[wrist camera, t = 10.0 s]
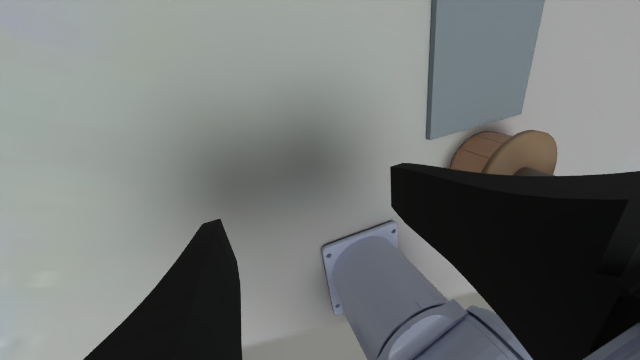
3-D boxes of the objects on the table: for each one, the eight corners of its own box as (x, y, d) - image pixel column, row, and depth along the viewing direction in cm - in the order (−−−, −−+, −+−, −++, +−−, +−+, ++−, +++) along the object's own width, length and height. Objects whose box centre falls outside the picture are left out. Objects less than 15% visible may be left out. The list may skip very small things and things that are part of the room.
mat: (516, 113, 25) (521, 113, 25) (426, 138, 23) (430, 140, 22) (542, -22, 21) (549, -24, 20) (432, -10, 18) (437, -12, 17)
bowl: (494, 184, 29) (531, 200, 25) (445, 202, 27) (478, 222, 24) (505, 124, 26) (549, 133, 22) (450, 141, 24) (489, 152, 21)
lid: (537, 205, 26) (594, 229, 22) (468, 234, 24) (517, 267, 20) (560, 119, 22) (634, 129, 18) (480, 145, 20) (545, 163, 16)
